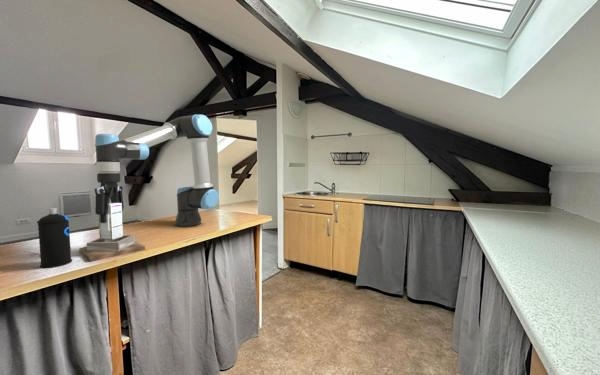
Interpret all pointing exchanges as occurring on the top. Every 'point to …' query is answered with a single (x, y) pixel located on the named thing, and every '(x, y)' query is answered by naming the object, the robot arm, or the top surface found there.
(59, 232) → the aerosol can
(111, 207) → the syrup box
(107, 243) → the socket holder
